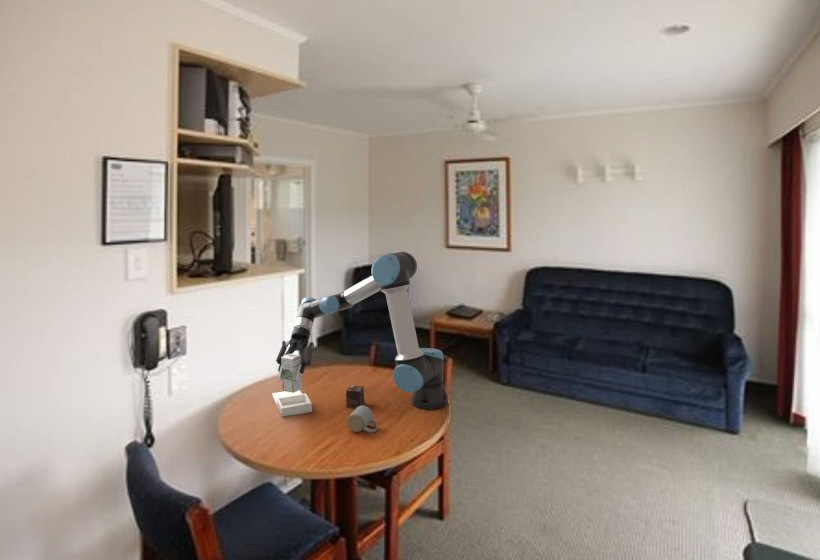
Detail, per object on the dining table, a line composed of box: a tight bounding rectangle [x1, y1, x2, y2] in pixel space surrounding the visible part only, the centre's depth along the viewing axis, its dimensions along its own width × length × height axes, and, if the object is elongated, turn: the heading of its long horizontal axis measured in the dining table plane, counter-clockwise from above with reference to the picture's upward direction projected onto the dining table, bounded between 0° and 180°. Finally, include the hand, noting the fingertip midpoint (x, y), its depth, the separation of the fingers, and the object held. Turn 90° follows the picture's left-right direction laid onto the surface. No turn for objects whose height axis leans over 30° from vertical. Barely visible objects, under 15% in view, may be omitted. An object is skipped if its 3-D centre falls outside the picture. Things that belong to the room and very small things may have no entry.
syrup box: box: [281, 353, 303, 393], centre depth 196 cm, size 6×6×14 cm
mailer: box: [271, 389, 313, 418], centre depth 205 cm, size 27×12×4 cm, turn 24°
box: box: [345, 385, 365, 409], centre depth 201 cm, size 6×6×7 cm
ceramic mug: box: [346, 405, 379, 434], centre depth 178 cm, size 11×8×8 cm
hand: (288, 379), depth 193 cm, fingers closed on syrup box, 7 cm apart
